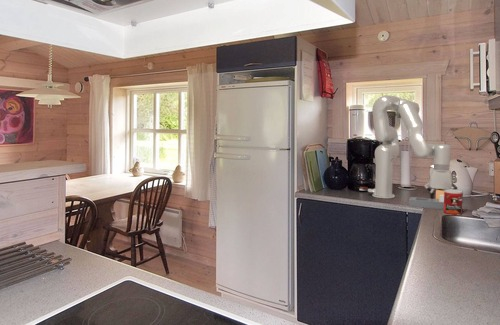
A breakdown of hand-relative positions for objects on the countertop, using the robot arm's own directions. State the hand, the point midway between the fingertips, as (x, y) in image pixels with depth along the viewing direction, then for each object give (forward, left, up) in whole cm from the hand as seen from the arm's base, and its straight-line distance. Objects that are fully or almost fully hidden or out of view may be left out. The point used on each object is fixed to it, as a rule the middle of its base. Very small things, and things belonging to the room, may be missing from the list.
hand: (439, 200), depth 183 cm
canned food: (+6, -18, -2) cm, 19 cm away
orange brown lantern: (0, 0, -2) cm, 2 cm away
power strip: (-4, -8, -2) cm, 9 cm away
